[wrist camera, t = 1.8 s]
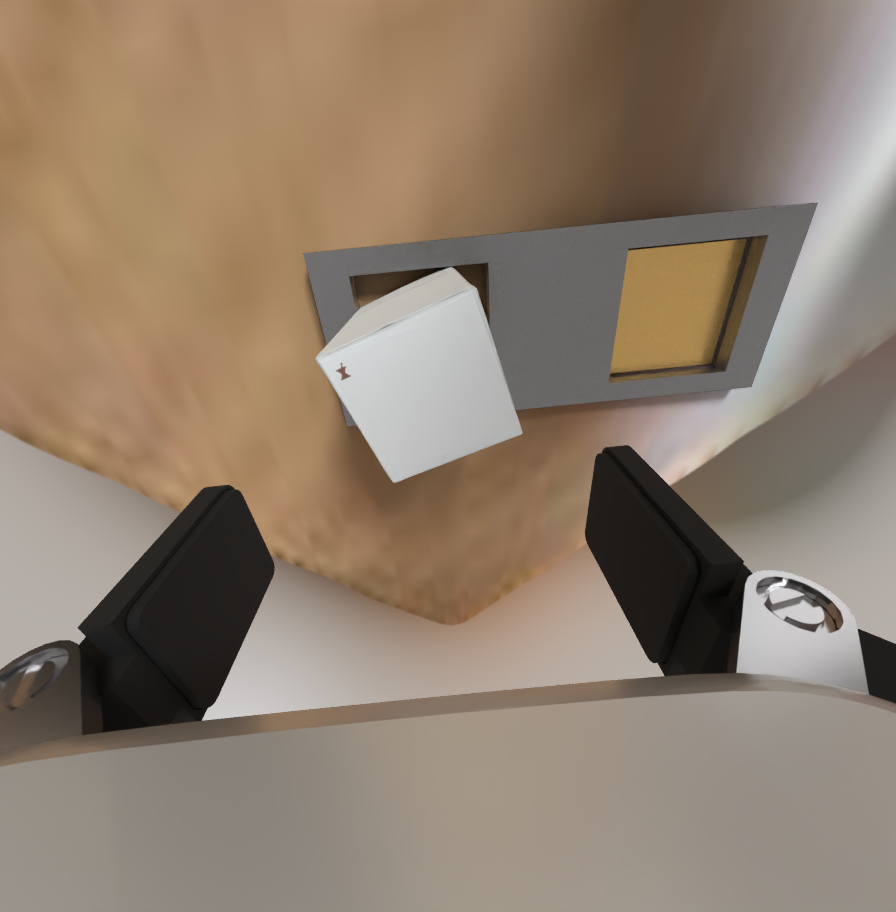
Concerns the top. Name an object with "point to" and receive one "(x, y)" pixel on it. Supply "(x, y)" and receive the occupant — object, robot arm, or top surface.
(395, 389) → the supplement box
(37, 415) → the top surface
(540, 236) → the grey flat plate
